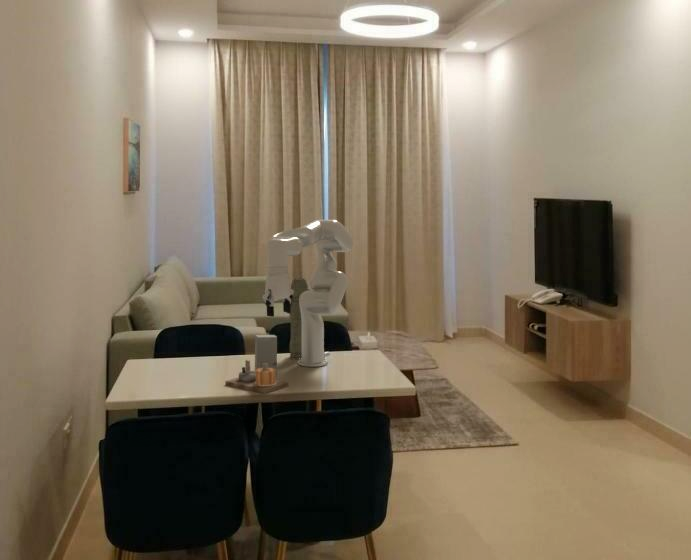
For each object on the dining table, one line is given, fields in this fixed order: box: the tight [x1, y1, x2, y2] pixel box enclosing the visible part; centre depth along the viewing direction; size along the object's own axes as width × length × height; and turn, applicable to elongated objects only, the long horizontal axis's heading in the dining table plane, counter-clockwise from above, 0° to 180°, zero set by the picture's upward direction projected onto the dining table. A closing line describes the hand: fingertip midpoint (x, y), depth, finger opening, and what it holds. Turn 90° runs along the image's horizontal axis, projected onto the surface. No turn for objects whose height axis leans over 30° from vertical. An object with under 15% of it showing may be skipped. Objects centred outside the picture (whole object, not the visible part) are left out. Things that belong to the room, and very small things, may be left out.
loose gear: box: [256, 368, 276, 386], centre depth 257 cm, size 7×7×5 cm
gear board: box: [224, 359, 289, 394], centre depth 260 cm, size 20×13×9 cm, turn 54°
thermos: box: [285, 278, 310, 360], centre depth 307 cm, size 9×12×35 cm
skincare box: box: [254, 334, 278, 376], centre depth 277 cm, size 8×7×16 cm
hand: (278, 314), depth 269 cm, fingers open, 9 cm apart
